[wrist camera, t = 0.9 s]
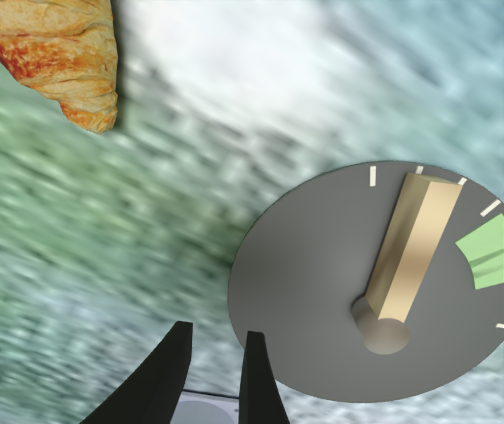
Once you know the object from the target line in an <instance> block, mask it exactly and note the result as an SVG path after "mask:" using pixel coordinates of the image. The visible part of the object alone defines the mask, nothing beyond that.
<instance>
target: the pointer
mask: <svg viewBox="0 0 504 424" xmlns="http://www.w3.org/2000/svg"><path fill="white" fill-rule="evenodd" d="M462 187H463V185H460V184H457V183H454V182H451V181H448V180H445V179H442V178H440V177H437V176H431V175H423V174H416V173H407V176H406V179H405V182H404V185H403V187H402V190H401V193H400V196H399V199H398V202H397V205H396V208H395V211H394V214H393V216H392V219H391V222H390V225H389V228H388V231H387V234H386V237H385V240H384V243H383V246H382V248H381V251H380V254H379V257H378V260H377V263H376V266H375V269H374V272H373V275H372V278H371V280H370V283H369V286H368V289H367V292H366V295H365V296H364V297H362V298H360V299H359V300H358V301H357V302H356V303H355V304H354V305H353V308H352V316H353V319H354V321H355V323H356V326H357V328H358V330H359V333H360V335H361V337H362V340H363V342H364V344H365V346H366V348H367V349H368V350H370V351H371V352H374V353H376V354H392V353H395V352H398V351H400V350H401V349H403V348H404V347H405V346H406V345H407V343H408V341H409V339H410V332H409V330H408V328H407V327H406V325H405V324H404V321H405V319H406V317H407V314H408V312H409V310H410V307H411V305H412V303H413V300H414V298H415V296H416V293H417V291H418V289H419V286H420V284H421V282H422V280H423V277H424V275H425V273H426V270H427V268H428V266H429V263H430V261H431V259H432V256H433V254H434V252H435V249H436V247H437V245H438V242H439V240H440V238H441V235H442V233H443V231H444V229H445V226H446V224H447V222H448V219H449V217H450V215H451V212H452V210H453V208H454V205H455V203H456V201H457V198H458V196H459V194H460V191H461V189H462Z"/></svg>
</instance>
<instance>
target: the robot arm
mask: <svg viewBox="0 0 504 424" xmlns="http://www.w3.org/2000/svg"><path fill="white" fill-rule="evenodd" d="M192 332H193V323H191V322H184V321H177V322H176V323H175V324H174V325H173V327H172V328H171V329H170V331H169V332H168V333H167V334H166V336H165V337H164V338H163V339H162V341H161V342H160V343H159V344H158V345H157V347H156V348H155V349H154V350H153V351H152V352H151V353H150V355H149V356H148V357H147V358H146V359H145V360H144V361H143V362H142V363H141V365H140V366H139V367H138V368H137V369H136V370H135V371H134V372H133V373H132V374H131V375H130V376H129V377H128V378H127V379H126V380H125V381H124V382H123V383H122V384H121V385H120V386H119V387H118V388H117V389H116V390H115V391H114V392H113V393H112V394H111V395H110V396H109V397H108V398H107V399H106V400H105V401H104V402H103V403H102V404H101V405H100V406H98V407H97V408H96V409H95V410H94V411H93V412H92V413H91V414H90V415H89V416H87V417H86V418H85V419H84V420H83V421H82V422H80V423H79V424H290V422H289V420H288V417H287V414H286V412H285V409H284V406H283V403H282V401H281V398H280V395H279V392H278V389H277V385H276V382H275V379H274V376H273V372H272V369H271V365H270V361H269V357H268V353H267V348H266V342H265V335H264V334H263V333H262V332H255V331H248V332H247V338H246V345H245V352H244V359H243V365H242V374H241V383H240V392H239V400H238V399H231V398H225V397H218V396H211V395H204V394H197V393H190V392H183V391H182V390H183V387H184V384H185V380H186V377H187V373H188V369H189V365H190V362H191V354H192Z"/></svg>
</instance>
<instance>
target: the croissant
mask: <svg viewBox="0 0 504 424" xmlns="http://www.w3.org/2000/svg"><path fill="white" fill-rule="evenodd" d="M117 61H118V55H117V47H116V40H115V38H114V30H113V16H112V11H111V3H110V0H0V62H1V63H2V64H3V65H4V67H5V68H6V69H7V70H8V71H9V72H10V74H11V75H12V76H13V77H14V78H15V80H16V81H17V82H18V83H20V84H22V85H24V86H26V87H29V88H31V89H35V90H36V91H37V92H39V93H40V94H41V95H43V96H44V97H45V98H47V99H51V100H57V101H58V102H59V103H60V106H61V109H62V112H63V114H64V115H65V116H66V117H67V118H68V119H69V121H70V122H71V123H73V124H75V125H77V126H79V127H81V128H83V129H85V130H87V131H91V132H94V133H97V134H100V135H101V134H102V133H103V132H106V131H107V130H111V129H112V128H113V125H114V123H115V120H116V116H117V112H118V109H117V107H116V103H117V97H118V95H117V93H116V92H115V89H116V71H117Z"/></svg>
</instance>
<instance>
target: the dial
mask: <svg viewBox="0 0 504 424" xmlns="http://www.w3.org/2000/svg"><path fill="white" fill-rule="evenodd" d="M407 173H416V174H423V175H431V176H437V177H440V178H442V179H445V180H448V181H451V182H454V183H457V184H460V185H463V187H462V189H461V191H460V194H459V196H458V198H457V201H456V203H455V205H454V208H453V210H452V212H451V215H450V217H449V219H448V222H447V224H446V226H445V229H444V231H443V233H442V235H441V238H440V240H439V242H438V245H437V247H436V249H435V252H434V254H433V256H432V259H431V261H430V263H429V266H428V268H427V270H426V273H425V275H424V277H423V280H422V282H421V284H420V286H419V289H418V291H417V293H416V296H415V298H414V300H413V303H412V305H411V307H410V310H409V312H408V314H407V317H406V319H405V321H404V324H405V325H406V327H407V328H408V330H409V332H410V339H409V341H408V343H407V345H406V346H405V347H404V348H403V349H401V350H400V351H398V352H395V353H392V354H376V353H374V352H371V351H370V350H368V349H367V348H366V346H365V344H364V342H363V340H362V337H361V335H360V333H359V330H358V328H357V326H356V323H355V321H354V319H353V316H352V308H353V305H354V304H355V303H356V302H357V301H358V300H359V299H360V298H362V297H364V296H365V295H366V292H367V289H368V286H369V283H370V280H371V278H372V275H373V272H374V269H375V266H376V263H377V260H378V257H379V254H380V251H381V248H382V246H383V243H384V240H385V237H386V234H387V231H388V228H389V225H390V222H391V219H392V216H393V214H394V211H395V208H396V205H397V202H398V199H399V196H400V193H401V190H402V187H403V185H404V182H405V179H406V176H407ZM228 308H229V316H230V319H231V323H232V326H233V329H234V332H235V334H236V336H237V338H238V340H239V342H240V344H241V345H242V347H243V348H244V350H245V345H246V338H247V332H248V331H255V332H262V333H263V334H264V335H265V342H266V348H267V353H268V357H269V361H270V365H271V369H272V372H273V376H274V379H276V380H277V381H279V382H280V383H282V384H284V385H286V386H288V387H290V388H292V389H294V390H297V391H299V392H302V393H304V394H307V395H310V396H314V397H317V398H321V399H326V400H331V401H338V402H348V403H376V402H386V401H393V400H399V399H404V398H408V397H412V396H416V395H419V394H422V393H425V392H428V391H431V390H434V389H436V388H438V387H441V386H443V385H445V384H447V383H449V382H451V381H453V380H455V379H457V378H459V377H460V376H462V375H464V374H465V373H467V372H468V371H470V370H471V369H473V368H474V367H476V366H477V365H478V364H480V363H481V362H482V361H483V360H484V359H486V358H487V357H488V356H489V355H490V354H491V353H492V352H493V351H494V350H495V349H496V348H497V347H498V346H499V345H500V344H501V343H502V342H503V341H504V203H503V202H502V201H501V200H500V199H499V198H498V197H496V196H495V195H494V194H492V193H491V192H490V191H489V190H487V189H486V188H485V187H483V186H481V185H480V184H478V183H476V182H474V181H472V180H470V179H468V178H467V177H465V176H462V175H459V174H456V173H453V172H451V171H448V170H445V169H442V168H438V167H435V166H430V165H425V164H420V163H415V162H402V161H380V162H367V163H361V164H356V165H351V166H346V167H342V168H339V169H336V170H333V171H330V172H327V173H324V174H321V175H319V176H317V177H315V178H313V179H310V180H308V181H306V182H304V183H302V184H301V185H299V186H297V187H296V188H294V189H292V190H291V191H289V192H288V193H286V194H285V195H283V196H282V197H281V198H280V199H278V200H277V201H276V202H275V203H273V204H272V205H271V206H270V207H269V208H268V209H267V210H266V211H265V212H264V213H263V214H262V215H261V216H260V217H259V218H258V219H257V220H256V222H255V223H254V224H253V226H252V227H251V229H250V230H249V231H248V233H247V234H246V236H245V237H244V239H243V241H242V243H241V245H240V247H239V249H238V251H237V254H236V257H235V259H234V262H233V265H232V269H231V274H230V279H229V285H228Z"/></svg>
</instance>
